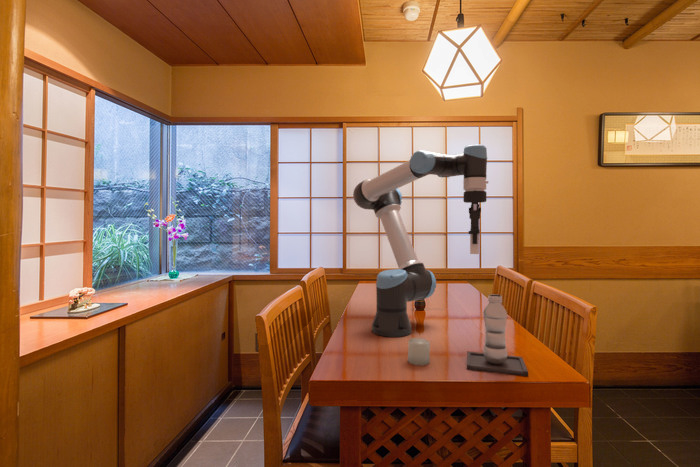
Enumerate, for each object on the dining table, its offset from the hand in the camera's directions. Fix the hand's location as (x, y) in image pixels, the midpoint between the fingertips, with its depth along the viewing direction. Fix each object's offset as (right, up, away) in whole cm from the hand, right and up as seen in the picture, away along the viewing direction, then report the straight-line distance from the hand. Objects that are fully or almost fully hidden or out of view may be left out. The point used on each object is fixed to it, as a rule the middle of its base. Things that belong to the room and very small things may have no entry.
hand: (474, 252), depth 129 cm
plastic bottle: (0, -32, -19) cm, 37 cm away
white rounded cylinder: (-22, -32, -16) cm, 42 cm away
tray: (0, -32, -19) cm, 37 cm away
